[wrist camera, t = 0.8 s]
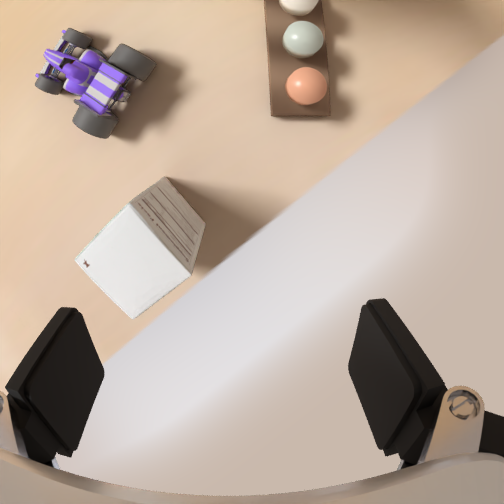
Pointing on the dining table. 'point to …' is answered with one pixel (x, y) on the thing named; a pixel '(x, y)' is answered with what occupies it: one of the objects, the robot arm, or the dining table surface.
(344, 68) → the dining table surface
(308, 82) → the terracotta button
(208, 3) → the dining table surface
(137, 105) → the dining table surface
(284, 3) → the cream button
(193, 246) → the supplement box
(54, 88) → the toy race car
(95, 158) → the dining table surface
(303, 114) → the button plate
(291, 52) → the sage button
